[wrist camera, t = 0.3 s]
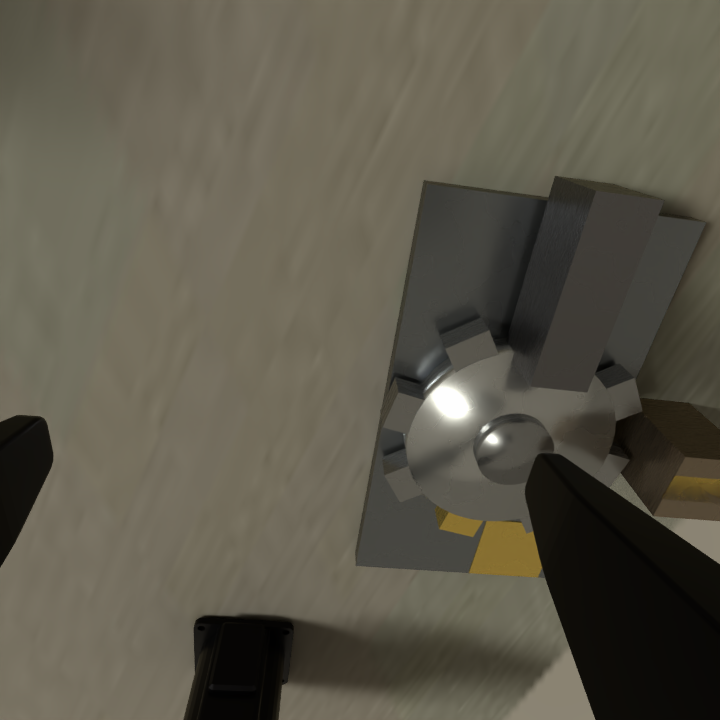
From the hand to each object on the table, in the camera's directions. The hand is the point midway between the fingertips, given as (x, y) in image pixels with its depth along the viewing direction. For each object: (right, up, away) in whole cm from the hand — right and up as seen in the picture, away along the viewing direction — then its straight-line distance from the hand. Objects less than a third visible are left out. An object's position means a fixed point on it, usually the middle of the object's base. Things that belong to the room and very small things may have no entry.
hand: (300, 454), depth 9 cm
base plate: (+8, -1, +17) cm, 19 cm away
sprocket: (+9, +1, +15) cm, 17 cm away
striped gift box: (+17, -2, +18) cm, 25 cm away
